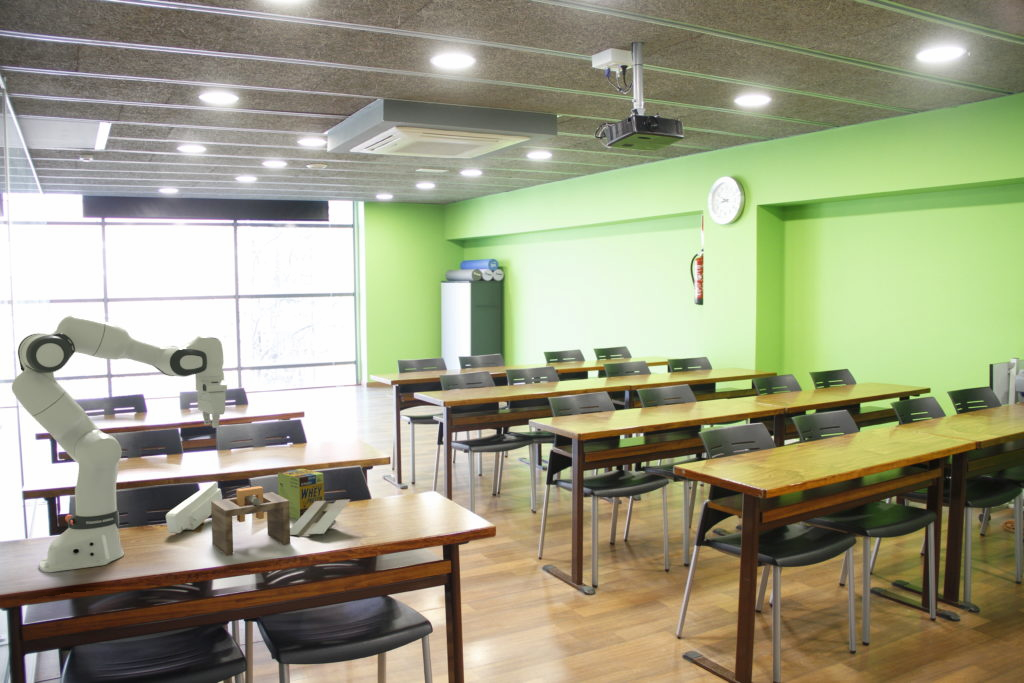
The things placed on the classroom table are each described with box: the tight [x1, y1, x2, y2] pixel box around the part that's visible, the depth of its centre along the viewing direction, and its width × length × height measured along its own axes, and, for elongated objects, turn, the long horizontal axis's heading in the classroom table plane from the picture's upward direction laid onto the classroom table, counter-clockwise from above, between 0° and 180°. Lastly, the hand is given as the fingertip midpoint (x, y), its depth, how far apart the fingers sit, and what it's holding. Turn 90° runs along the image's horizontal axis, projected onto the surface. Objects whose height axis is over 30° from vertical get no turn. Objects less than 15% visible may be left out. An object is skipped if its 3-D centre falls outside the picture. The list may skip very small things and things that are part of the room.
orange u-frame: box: [235, 485, 265, 523], centre depth 249 cm, size 8×3×10 cm, turn 126°
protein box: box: [277, 468, 325, 520], centre depth 287 cm, size 10×15×16 cm
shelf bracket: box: [165, 481, 223, 534], centre depth 273 cm, size 6×27×14 cm, turn 169°
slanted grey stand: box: [290, 499, 351, 537], centre depth 264 cm, size 19×10×17 cm
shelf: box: [211, 491, 291, 557], centre depth 249 cm, size 20×16×16 cm
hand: (211, 426), depth 258 cm, fingers open, 8 cm apart
